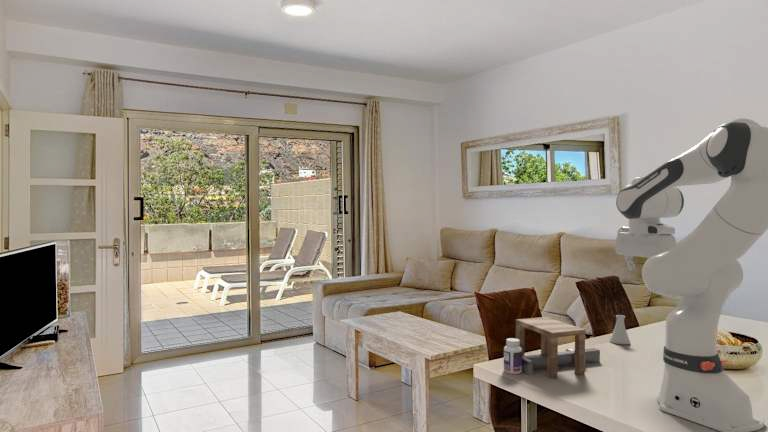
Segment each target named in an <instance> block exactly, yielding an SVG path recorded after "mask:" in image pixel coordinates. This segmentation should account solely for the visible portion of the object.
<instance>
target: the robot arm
mask: <svg viewBox="0 0 768 432" xmlns="http://www.w3.org/2000/svg"><path fill="white" fill-rule="evenodd" d="M729 177H730V185H729V186H728V189H727V191H725V193H724V194H723V195H722V196H721V197H720V199H718V201H717V202H716V204H714V206H713V207H712V208H711V210H710V211H709V212H708V213H707V215H706V216H705V217H704V218H703V219H702V221H701V222H700V223H699V224H698V225H697V227H695V228H694V229H693V230H692V231H691V232H690V233H688V234H687V235H686V236H685V237H683V238H682V239H680V240H679V241H678V242H677V241H676V240H677V239H676V236H675V233H676V228H675V227H674V226H671V225H669V224H666V223H664V222H661V219H662V218H663V219H664V218H665V219H666V218H667V219H668V218H673V217H674V218H675V217H677V216H678V215H680V214H681V212H682V210H683V208H684V205H685V198H684V195H683V193H682V191H681V190H680V188H678V187H682V186H683V187H684V186H697V185H699V186H700V185H709V184H715V183H718V182H720V181H723V180H725V179H727V178H729ZM615 200H616V201H615V203H616V204H615V205H616V208H617V210H618V211H619V213H620V214H621V215H622V216H624V217H625V218H626V219H628V226H622V227H620V228H618V230H617V231H616V232H617V236H616V240H615V244H614V245H615V248H614V249H615V250H614V251H615V253H616V255H622V256H624V260H625V262H626V263H627V270H631V271H635V270H636V264H635V263H634V262H633V258H634V257H640V258H647V260H646V261H645V262H644V264H643V265H642V269H641V277H642V281H643V283H644V286H645V287H646V288H647V289H648V290H649V292H651V293H653V294H656V295H660V296H664V297H672V298H678V297H679V298H680V297H681V298H680V301H679V302H678V304H677V305H676V307H675V308H674V309H673V310H672V311H670V313H668V315H667V316H666V319H665V346H664V347H663V352H662V357H663V359H662V360H663V362H664V366H663V376H662V377H663V378H662V380H661V381H662V383H661V386H660V390H659V393H658V396H657V399H656V400H657V402H658V403H659V410H661V411H662V412H665V413H668V414H671V415H674V416H677V417H680V418H682V419H686V420H688V421H690V422H693V423H696V424H699V425H702V426H704V427H707V428H710V429H713V430H715V431H719V432H755V431H758V430H761V429H763V428H764V427H765V420H764V419H763V418H761V417H759V416H757V415H755V414H753V407H752V403H751V399H750V396H749V395H748V394H747V393H746V392H745V391H744V390H743V389H742V388H741V387H740V386H739V385H738V384H737V383H736V382H735V381H734V380H733V379H732V378H731V377H730V376H729V375H728V374H727V373H726V372H725V368H724V366H728V365H729V364H728V363H727V362H728V360H727V359H725V360H721V358H720V355H719V354H718V353H719V352H718V351H717V349H718V330H719V323H720V318H721V315H722V312H723V310H724V308H725V305H726V303H727V300H728V299H729V297H730V296H731V295H732V293H734V292H735V290H737V289H738V288H739V287H740V286H741V285H742V282H743V280H744V271H743V267H742V265H741V264H740V262H739V261H738V259H740V258H741V257H743V256H744V255H745V254H747V252H749V250H750V249H751V248H752V246H753V245H755V243H756V242H757V241H758V240H759V239H761V237H762V236H763V235H764V234H765V232H767V230H768V127H767V126H762V125H760V124H759V123H758V122H756V121H754V120H752V119H749V118H742V117H741V118H736V119H735V118H734V119H732V120H730V121H729V122H725V123H724V122H723V123H722V124H721V125H719V126H718V127H717V128H715V129H714V130H713V131H712V132H711V133H710V134H709V135H707V136H706V137H705V138H704V139H703V140H701V141H700V142H699V143H697V144H696V145H695V146H693V147H691V148H690V149H689V150H687V151H685V152H683V153H682V154H680V155H678V156H677V157H674V158H672V159H670V160H668V161H666V162H664V163H663V164H661V165H660V166H658V167H657V168H655V169H654V170H652V171H651V172H649V173H648V174H646V175H643V176H639V177H635V178H633V179H632V180H631V183H630V184H628V185H625V186H624V187H623V188H622V189H621V190H620V191H619V193H618V194H617V197H616V199H615Z"/></svg>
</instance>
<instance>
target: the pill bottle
mask: <svg viewBox="0 0 768 432" xmlns="http://www.w3.org/2000/svg"><path fill="white" fill-rule="evenodd" d="M505 340H506V341H505V342H506V343H505V346H504V347H503V372H505V373H507V374H513V375H517V374H521V373H523V372H522V348H521V347H520V346H519V345H520V340H519V339H516V337H515V338H514V337H509V338H506V339H505Z"/></svg>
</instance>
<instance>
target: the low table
mask: <svg viewBox="0 0 768 432" xmlns="http://www.w3.org/2000/svg"><path fill="white" fill-rule="evenodd" d="M526 329H528V330H530V331H533V332H536V333H538V334H540V354H546V353H548V356H547V369H546V372H547V373H546V375H547V376H546V377H547V378H550V379H553V380H554V379H557V378H558V368H557V362H558V352H559V351H558V350H559V349H558V347H559V344H558V343H559V342H558V341H559V338H565V337H573V336H574V350H575V365H574V373H575V374H577V375H579V376H581V375H585V373H586V372H585V367H586V364H585V349H586V329H585V328H582V327H579V326H575V325H572V324H570V323H566V322H563V321H561V320H557V319H554V318H551V317H548V316H542V317H539V316H538V317H531V318H530V317H529V318H518V319H515V339H519V340H520V345H519V346H520V347H521V348H522V356H525V344H526V343H525V332H526Z"/></svg>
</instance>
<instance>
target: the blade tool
mask: <svg viewBox="0 0 768 432" xmlns="http://www.w3.org/2000/svg"><path fill="white" fill-rule="evenodd" d="M600 352H601V349H599V348H595V347H593V348H585V365H587V363H589V364H594V363H595V362H597V363H600V362H601V358H600V357H601V356H600V355H601V353H600ZM547 356H548V353H546V354H541V353H538V354H531V355H524V356H522V372H521V373H524V374H526V375H528V376H529V375H530V376H531V375H534V372H535V371H541V370H547ZM572 365H574V366H575V349H572V348H565V351H558V362H557V369H558V368H564V367H565V366H566V367H572Z"/></svg>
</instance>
